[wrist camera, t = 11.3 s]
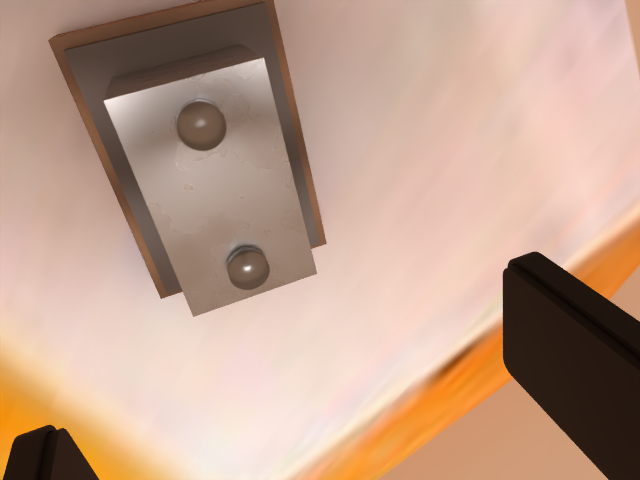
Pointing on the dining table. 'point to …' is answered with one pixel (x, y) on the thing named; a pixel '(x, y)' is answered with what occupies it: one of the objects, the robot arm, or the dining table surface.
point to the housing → (214, 173)
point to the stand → (163, 47)
